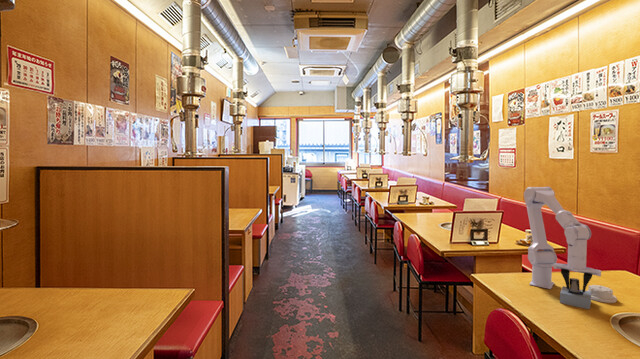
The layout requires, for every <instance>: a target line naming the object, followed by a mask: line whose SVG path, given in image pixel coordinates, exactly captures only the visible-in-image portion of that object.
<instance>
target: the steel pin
mask: <svg viewBox="0 0 640 359" xmlns="http://www.w3.org/2000/svg"><path fill="white" fill-rule="evenodd" d="M569 284H570V293H573V294H577V295H580V290H581V289H580V286H581V285H580V279H579V278H575V277H571V278H570V277H569Z"/></svg>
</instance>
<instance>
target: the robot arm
mask: <svg viewBox="0 0 640 359" xmlns="http://www.w3.org/2000/svg"><path fill="white" fill-rule="evenodd" d="M523 199H524V204H525V206H526V211H527V216H528V221H529V227H530V233H531V234H530V235H531V238H532V244H531V245H530V246H528V247H527V251H528V252H527V253H528V254H527V259H528V261H529V263H530V265H532V268H531V272H532V273H531V281H530V282H529V285H530V286H533V287H538V288H539V287H540V288H544V289H549V290H551V289H552V288H553V286H554V284H555V282H554V281H552V273H553V272H552V271H553V269H554V270H560V274H561V276H562V277H563V280H564V282H565V287H567V289H569V287H570V272H575V273H582V274H583V276H582V278H583V280H582V283H583V284H582V290H583V292H584V293H585V291H586V288H587V286H588V284H589V283H590V281H591V280H592V278H593V276H597V277H602V270H600V269H595V268H593V267H589V266H588V267H587V252H588V251H587V248H588V246H587V245H588V240H590V239H591V237H592V231H591V228H590V227H589V226H588V225H587V224H584V223H581V222H580V221H579V220H578V219H577V218H576V217H575V215H574V214H573V213H572V211H569V210H565V209H564V208H563V207H562V206H563V205H561V204H560V201H558V199H557V198H556V194H555V191H554V190H553V189H552V187H550V186H542V187H541V186H527V187H526V189H524V192H523ZM544 206H547V207H548V209H550V210H551V211H552V212H553V213H554V214H555V217H554V218H555V220H556V222H558V223H559V225H560V226H561V227H562V228H563V230H564V231H563V232H564V233H563V234H564V236H565V238H566V243H567V263H558V257H557V254H556V251H555V249H554V246H552V245H550V244H549V243H548V241H547V240H548V239H547V236H546V230H545V229H546V228H545V224H544V218H543V213H542V208H543V207H544ZM552 268H553V269H552Z"/></svg>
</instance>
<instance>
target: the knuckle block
mask: <svg viewBox="0 0 640 359" xmlns="http://www.w3.org/2000/svg"><path fill="white" fill-rule="evenodd" d="M559 303H560V304H564V305H568V306H571V307H572V306H573V307H576V308H582V309H586V310H590V309H591V304H592V299H591V292H590V291H587V290H585V293H584V292H583V289H580V295H577V294H573V293H570V287H569V289H567V287H566V285H565V286H564V285H562V288H561V290H560V293H559Z"/></svg>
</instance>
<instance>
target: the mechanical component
mask: <svg viewBox="0 0 640 359" xmlns="http://www.w3.org/2000/svg"><path fill="white" fill-rule="evenodd" d="M587 286H588V289H587V290H586V291H590V292H591V301H592V300H593V301H596V302H600V303H606V304H607V303H608V304H613V303H614V304H615V303H616V302H618V301H617V300H618V298H617V297H616V296H615V295H614V290H613V289H611V288H610V287H606V286H604V285H600V284H599V285H598V284H591V285H590V284H589V285H587Z"/></svg>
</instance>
